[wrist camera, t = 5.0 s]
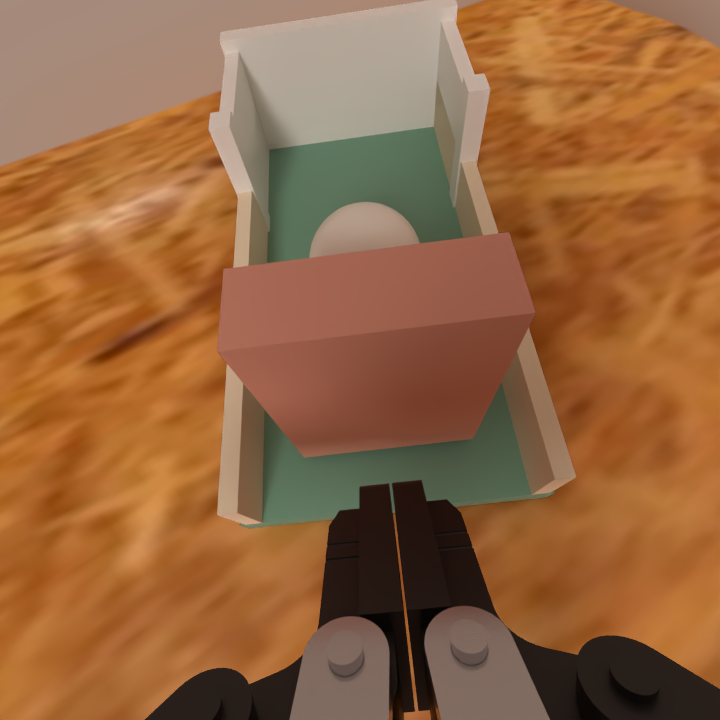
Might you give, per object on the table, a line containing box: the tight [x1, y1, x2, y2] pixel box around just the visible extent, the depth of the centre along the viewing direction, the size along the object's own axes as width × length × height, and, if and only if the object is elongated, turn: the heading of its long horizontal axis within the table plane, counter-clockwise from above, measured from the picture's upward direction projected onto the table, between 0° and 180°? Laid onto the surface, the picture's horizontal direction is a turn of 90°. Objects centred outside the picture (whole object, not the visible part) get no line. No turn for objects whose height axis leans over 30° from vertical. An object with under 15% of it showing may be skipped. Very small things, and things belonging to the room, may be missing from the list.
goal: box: [209, 0, 490, 232], centre depth 20 cm, size 7×11×6 cm, turn 95°
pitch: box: [217, 81, 576, 528], centre depth 19 cm, size 20×11×4 cm, turn 5°
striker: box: [217, 232, 536, 458], centre depth 12 cm, size 2×6×8 cm, turn 95°
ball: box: [309, 202, 420, 258], centre depth 17 cm, size 4×4×4 cm
